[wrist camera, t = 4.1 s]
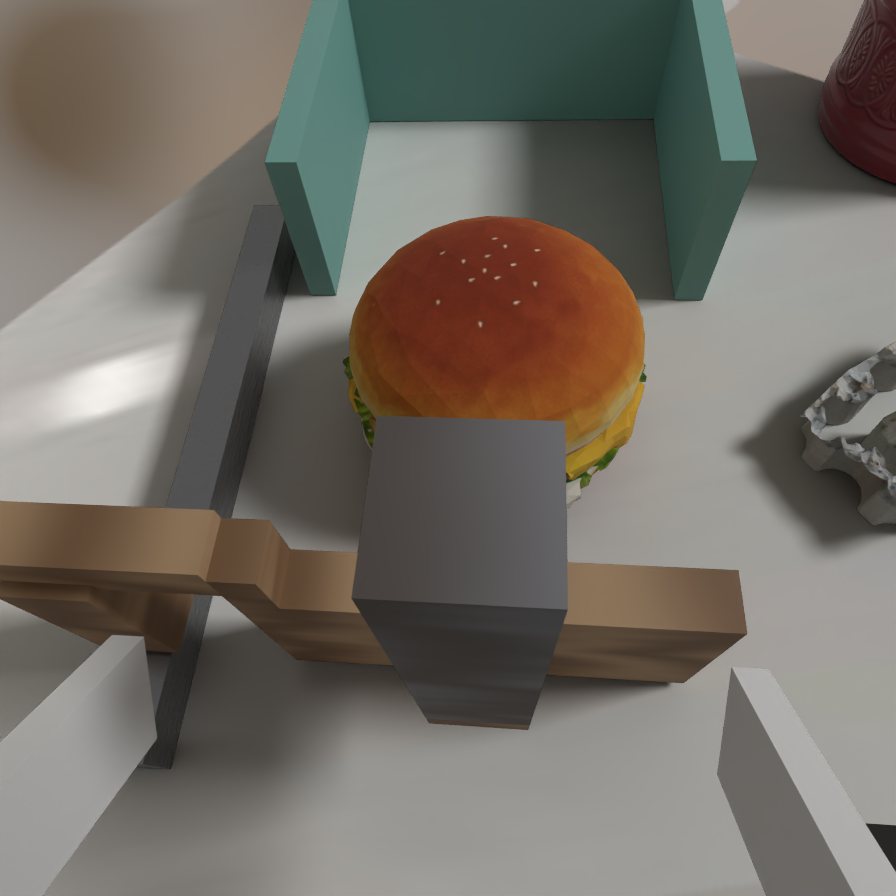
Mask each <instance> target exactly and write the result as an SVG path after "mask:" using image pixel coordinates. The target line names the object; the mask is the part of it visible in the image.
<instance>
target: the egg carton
mask: <svg viewBox="0 0 896 896" xmlns="http://www.w3.org/2000/svg"><path fill="white" fill-rule="evenodd" d="M895 389H896V342H894V343H892V344H890V345H888V346H887V347H885V348H884V349H882V350H881V351H880V352H879V353H877V354H876V355H874V356H872V357H870V358H868V359H867V360H865V361H863V362H862V363H860V364H859V365H857V366H855V367H853V368H851V369H849V370H848V371H847V372H846V373H845V374H844V375H843V376H841V377H840V378H839V379H838V380H837V381H836V382H835V383H834V384H833V385H832V386H830V387H829V388H828V389H827V390H826V391H825V392H824V393H823V394H822V395H821V396H820V397H819V398H818V399H817V400H816V401H815V402H814V403H813V404H812V405H811V406H810V407H809V408H807V409H806V411H805V412H804V413H803V414H802V415H801V417H807V418H808V419H809V421H807V422H806V423H805V424H804V425H803V426H802V427H801V430H802V432H803V434H804V435H805V438H806V448H805V450H804V452H803V453H802V455H801V458H802V460H803V461H804V462H805V463H806V464H808V465H809V466H810V467H811V468H812V469H813V470H814V471H816V472H817V471H820V470H823V469H838V470H841V471H844V472H846V473H847V474H849V475H851V476H852V477H853V478H854V479H855V480H856V481H857V483H858V484H859V486H860V489H861V494H862V495H861V502H860V504H859V506H858V508H857V510H858V512H859V513H860V514H861V515H862V516H863V517H865V518H866V519H867V520H868V522H869V523H871V524H872V525H874V526H877V525H879V524H882V523H894V524H896V483H892V478H893V476H896V412H894V413H892V414H890V415H888V416H886V417H884V418H883V419H882V420H881V422H880V423H879V424H878V425H877V426H876V427H875V428H874V429H873V430H872V431H871V433H870V434H869V435H868V436H867V437H866V438H865V439H864V440H863V442H862V443H861V445H860V444H858V443H853V444H847V443H846V440H845V438H844V437H838V438H836V439H834V440H832V441H825V440H824V439H822V437H821V436H820V435H819V433H820V432H821V430H822V429H823V427H824V426H825V424H826V423H827V424H831V425H841V424H845V423H848V422H849V421H850V420H851V419H852V418H853V417H854V416H855V415H856V414H857V413H858V412H859V411H860V410H861V409H862V408H863V407H864V405H865V404H866V403H867V402H868V401H869V400H870V399H871V398H872V397H873V396H874V395H875V394H876V393H878V391H880V392H887V391H892V390H895Z"/></svg>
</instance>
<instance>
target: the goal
mask: <svg viewBox="0 0 896 896" xmlns="http://www.w3.org/2000/svg"><path fill="white" fill-rule="evenodd" d="M586 119H654V128H655V136H656V145H657V154H658V162H659V171H660V180H661V188H662V197H663V206H664V214H665V223H666V232H667V240H668V249H669V258H670V266H671V275H672V284H673V292H674V300H702V299H703V297H704V294H705V292H706V289H707V287H708V284H709V282H710V279H711V277H712V274H713V271H714V269H715V266H716V264H717V261H718V259H719V256H720V254H721V251H722V248H723V246H724V243H725V241H726V238H727V236H728V233H729V231H730V228H731V225H732V223H733V220H734V218H735V215H736V213H737V210H738V208H739V205H740V203H741V200H742V197H743V195H744V192H745V190H746V187H747V185H748V182H749V180H750V177H751V174H752V172H753V169H754V167H755V164H756V162H757V158H756V154H755V149H754V144H753V140H752V135H751V131H750V126H749V122H748V117H747V112H746V108H745V103H744V99H743V94H742V90H741V85H740V80H739V76H738V71H737V67H736V62H735V58H734V53H733V48H732V44H731V39H730V35H729V30H728V26H727V21H726V16H725V12H724V7H723V3H722V0H312V4H311V7H310V11H309V14H308V18H307V21H306V24H305V27H304V31H303V34H302V38H301V41H300V44H299V48H298V51H297V55H296V58H295V61H294V65H293V68H292V72H291V75H290V78H289V82H288V85H287V88H286V92H285V95H284V98H283V102H282V106H281V109H280V112H279V115H278V119H277V122H276V125H275V129H274V132H273V136H272V139H271V142H270V146H269V149H268V153H267V156H266V159H265V165H266V168H267V171H268V174H269V176H270V179H271V182H272V185H273V188H274V191H275V194H276V197H277V200H278V202H279V205H280V208H281V211H282V214H283V217H284V220H285V223H286V226H287V228H288V231H289V234H290V237H291V240H292V243H293V246H294V249H295V252H296V255H297V257H298V260H299V263H300V266H301V269H302V272H303V275H304V278H305V281H306V283H307V286H308V289H309V292H310V295H336V292H337V287H338V282H339V277H340V272H341V266H342V261H343V256H344V251H345V246H346V241H347V236H348V230H349V225H350V220H351V215H352V210H353V205H354V200H355V194H356V189H357V184H358V179H359V174H360V169H361V164H362V158H363V153H364V148H365V143H366V138H367V133H368V128H369V122H370V121H474V120H586Z"/></svg>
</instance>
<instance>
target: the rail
mask: <svg viewBox="0 0 896 896" xmlns="http://www.w3.org/2000/svg"><path fill="white" fill-rule="evenodd" d="M294 255H295V249H294V246H293V243H292V240H291V237H290V234H289V231H288V228H287V226H286V223H285V220H284V217H283V214H282V211H281V208H280V205H254V208H253V212H252V215H251V218H250V222H249V225H248V229H247V232H246V235H245V239H244V242H243V246H242V249H241V252H240V256H239V259H238V263H237V266H236V269H235V273H234V276H233V280H232V283H231V287H230V290H229V293H228V297H227V300H226V304H225V307H224V310H223V314H222V317H221V321H220V324H219V327H218V331H217V334H216V338H215V341H214V344H213V348H212V351H211V355H210V358H209V361H208V365H207V368H206V372H205V375H204V379H203V382H202V385H201V389H200V392H199V396H198V399H197V402H196V406H195V409H194V413H193V416H192V419H191V423H190V426H189V430H188V433H187V436H186V440H185V443H184V447H183V450H182V454H181V457H180V460H179V464H178V467H177V471H176V474H175V477H174V481H173V484H172V488H171V491H170V494H169V498H168V501H167V505H166V508H177V509H201V510H214V511H215V512H216V513H217V514H218V515H219V516H220V517H221V518H231V516H232V512H233V508H234V504H235V500H236V496H237V492H238V487H239V483H240V479H241V475H242V471H243V467H244V463H245V458H246V454H247V450H248V446H249V442H250V438H251V434H252V429H253V425H254V421H255V417H256V413H257V409H258V405H259V400H260V396H261V392H262V388H263V384H264V380H265V376H266V371H267V367H268V363H269V359H270V355H271V351H272V347H273V342H274V338H275V334H276V330H277V326H278V322H279V317H280V313H281V309H282V305H283V301H284V297H285V293H286V288H287V284H288V280H289V276H290V272H291V268H292V264H293V259H294ZM211 599H212V595H194V597H193V601H192V605H191V609H190V613H189V616H188V620H187V624H186V628H185V632H184V636H183V640H182V644H181V648H180V652H179V653H172V652H156V651H146V656H147V664H148V671H149V679H150V687H151V694H152V702H153V710H154V717H155V725H156V733H157V739H156V741H155V742H154V743H153V745H152V746H151V747H150V749H149V750H148V752H147V753H146V754H145V756H144V757H143V758H142V760H141V761H140V762H139V764H138V765H137V767H147V768H160V769H171V765H172V761H173V757H174V753H175V749H176V745H177V740H178V736H179V732H180V728H181V724H182V720H183V715H184V711H185V707H186V703H187V699H188V695H189V691H190V686H191V682H192V678H193V674H194V670H195V666H196V662H197V657H198V653H199V649H200V645H201V641H202V637H203V633H204V628H205V624H206V620H207V616H208V612H209V608H210V604H211Z"/></svg>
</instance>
